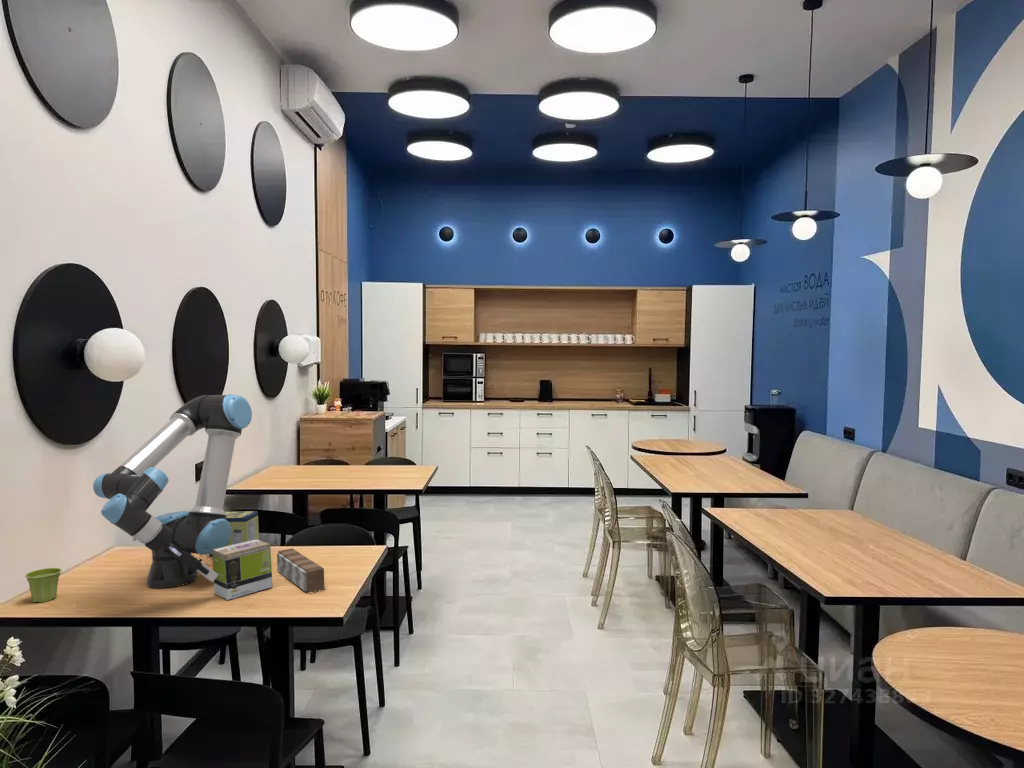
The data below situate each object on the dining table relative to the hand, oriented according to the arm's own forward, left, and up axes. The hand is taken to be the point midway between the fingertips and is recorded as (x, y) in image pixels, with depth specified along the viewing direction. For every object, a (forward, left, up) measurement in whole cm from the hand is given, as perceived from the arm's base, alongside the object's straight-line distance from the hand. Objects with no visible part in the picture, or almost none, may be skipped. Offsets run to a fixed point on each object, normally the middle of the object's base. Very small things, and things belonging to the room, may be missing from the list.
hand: (215, 577), depth 200 cm
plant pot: (-35, -42, -7) cm, 56 cm away
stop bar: (+1, +27, -6) cm, 27 cm away
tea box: (-1, +8, -7) cm, 11 cm away
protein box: (-47, +18, -7) cm, 51 cm away
